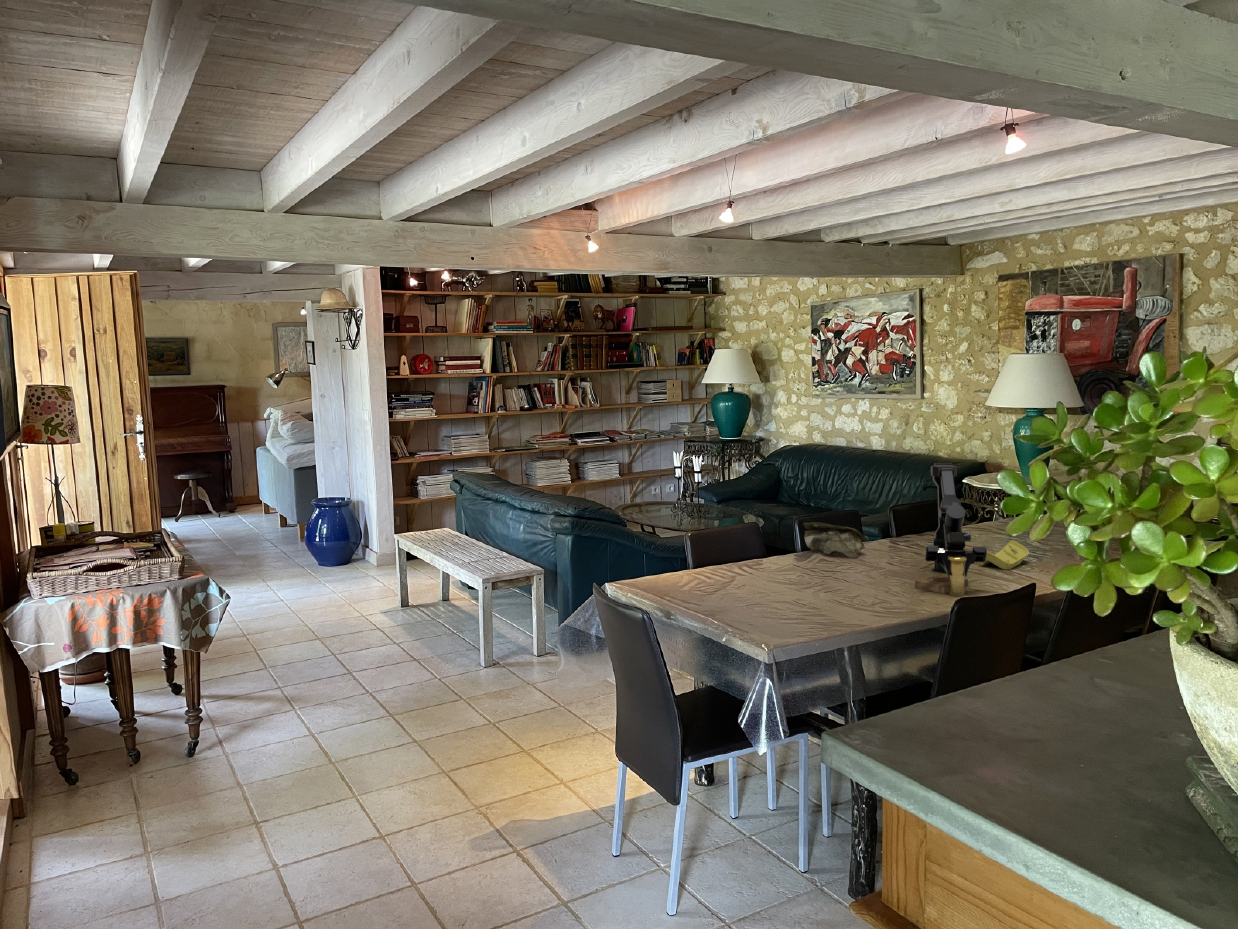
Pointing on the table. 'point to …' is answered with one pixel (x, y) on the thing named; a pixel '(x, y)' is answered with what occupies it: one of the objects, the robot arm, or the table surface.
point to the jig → (936, 583)
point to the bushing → (957, 574)
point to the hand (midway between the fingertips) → (957, 575)
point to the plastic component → (1007, 556)
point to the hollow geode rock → (834, 539)
